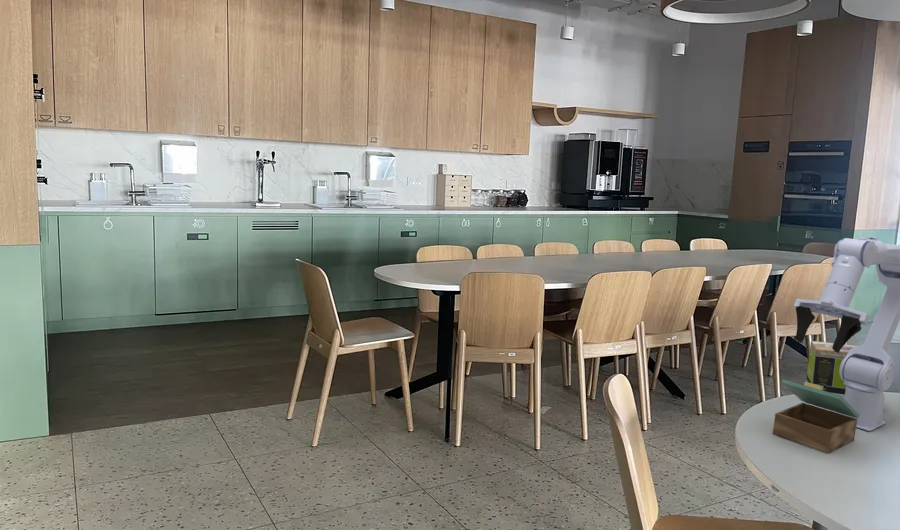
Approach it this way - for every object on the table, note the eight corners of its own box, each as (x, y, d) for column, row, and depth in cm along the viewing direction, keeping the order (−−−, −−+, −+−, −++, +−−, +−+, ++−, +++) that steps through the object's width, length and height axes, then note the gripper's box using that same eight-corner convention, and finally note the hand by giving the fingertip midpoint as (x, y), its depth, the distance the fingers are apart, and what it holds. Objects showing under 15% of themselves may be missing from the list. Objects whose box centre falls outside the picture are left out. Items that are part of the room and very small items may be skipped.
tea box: (866, 400, 180) (874, 346, 178) (875, 413, 171) (884, 356, 168) (803, 391, 185) (810, 338, 183) (808, 403, 176) (816, 348, 173)
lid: (802, 402, 161) (805, 394, 162) (858, 419, 152) (861, 411, 152) (781, 382, 153) (784, 375, 153) (839, 399, 143) (842, 391, 144)
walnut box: (799, 422, 162) (802, 402, 161) (854, 440, 152) (857, 419, 152) (772, 434, 154) (775, 413, 153) (828, 453, 144) (831, 431, 144)
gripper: (799, 274, 150) (776, 329, 148) (871, 288, 139) (847, 347, 137) (810, 288, 154) (787, 342, 152) (880, 302, 143) (857, 360, 141)
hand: (816, 345), depth 145 cm, fingers open, 7 cm apart
